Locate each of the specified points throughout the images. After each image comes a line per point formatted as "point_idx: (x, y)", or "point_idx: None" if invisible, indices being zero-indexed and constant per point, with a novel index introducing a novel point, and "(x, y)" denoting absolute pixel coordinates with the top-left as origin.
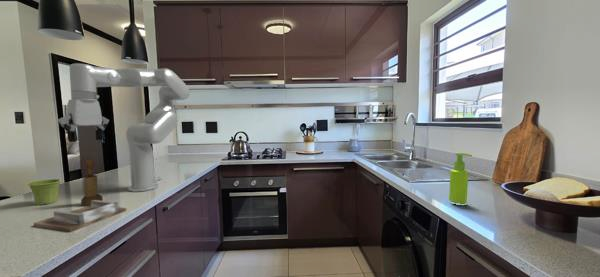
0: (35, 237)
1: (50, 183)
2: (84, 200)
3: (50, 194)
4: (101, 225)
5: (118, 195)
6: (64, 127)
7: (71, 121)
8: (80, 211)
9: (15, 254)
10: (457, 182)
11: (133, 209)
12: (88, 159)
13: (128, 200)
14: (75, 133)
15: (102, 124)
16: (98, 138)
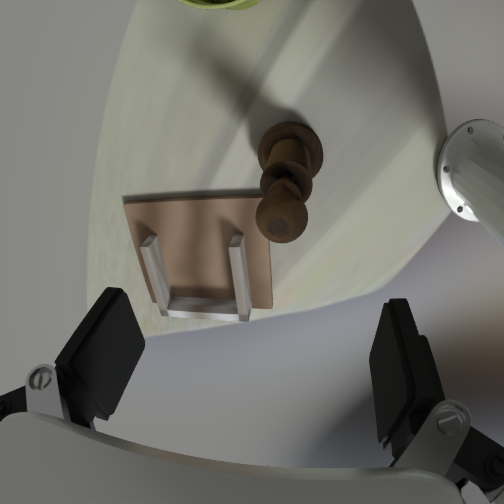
0: (116, 265)
1: (211, 8)
2: (259, 163)
3: (228, 7)
4: (196, 321)
5: (391, 153)
6: (18, 401)
7: (29, 475)
8: (209, 226)
9: (94, 297)
10: None
11: (286, 311)
12: (271, 232)
13: (348, 239)
14: (113, 402)
15: (474, 486)
16: (378, 341)
